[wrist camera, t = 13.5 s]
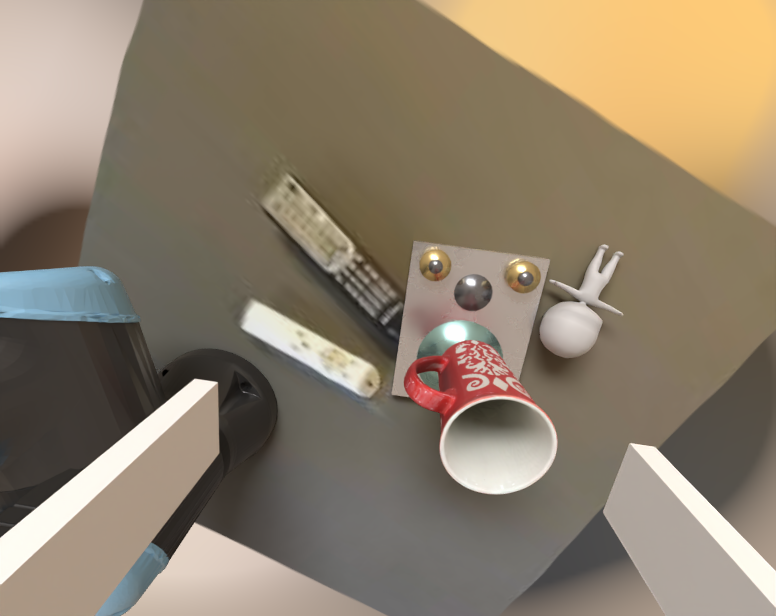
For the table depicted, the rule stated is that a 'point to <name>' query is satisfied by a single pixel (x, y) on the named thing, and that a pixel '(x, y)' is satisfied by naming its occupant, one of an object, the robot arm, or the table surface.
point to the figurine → (578, 312)
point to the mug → (484, 419)
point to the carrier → (467, 305)
